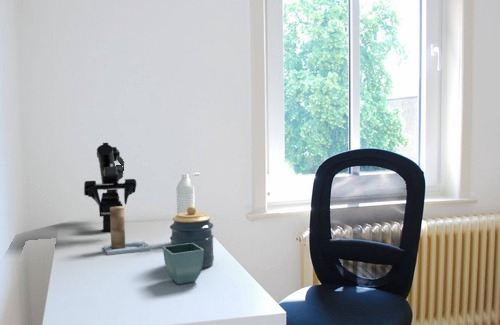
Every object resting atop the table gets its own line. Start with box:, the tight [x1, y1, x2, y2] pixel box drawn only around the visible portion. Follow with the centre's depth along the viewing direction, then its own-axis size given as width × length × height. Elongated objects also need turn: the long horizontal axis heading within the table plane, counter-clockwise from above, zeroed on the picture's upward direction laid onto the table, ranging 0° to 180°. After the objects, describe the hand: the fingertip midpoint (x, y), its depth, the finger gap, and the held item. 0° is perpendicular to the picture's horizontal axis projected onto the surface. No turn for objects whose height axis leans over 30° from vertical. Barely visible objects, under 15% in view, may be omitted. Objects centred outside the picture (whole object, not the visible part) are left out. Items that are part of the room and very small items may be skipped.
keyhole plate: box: [103, 240, 152, 256], centre depth 161 cm, size 14×11×1 cm
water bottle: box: [176, 172, 201, 215], centre depth 171 cm, size 9×6×25 cm
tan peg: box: [110, 206, 126, 250], centre depth 160 cm, size 5×5×14 cm
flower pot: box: [162, 243, 204, 285], centre depth 125 cm, size 9×9×9 cm
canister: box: [169, 206, 215, 270], centre depth 141 cm, size 13×13×18 cm
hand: (113, 204), depth 173 cm, fingers open, 9 cm apart
